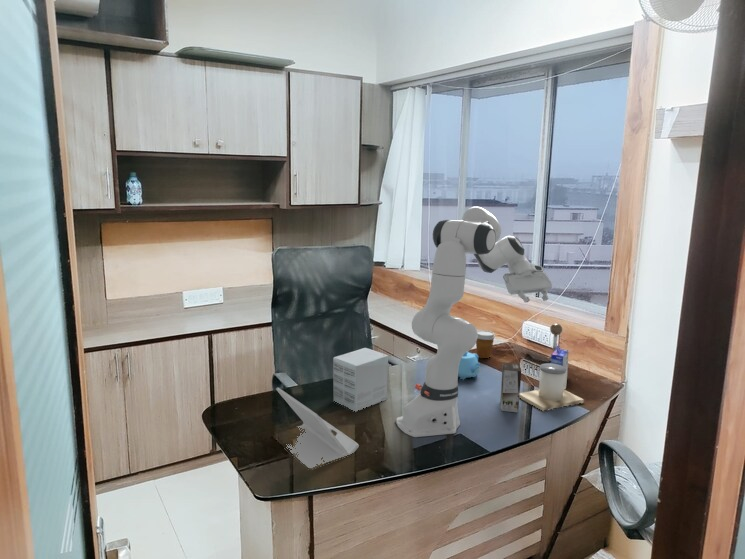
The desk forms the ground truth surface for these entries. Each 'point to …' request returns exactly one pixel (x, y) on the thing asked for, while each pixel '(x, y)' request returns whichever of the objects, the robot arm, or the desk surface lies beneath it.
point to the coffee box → (510, 387)
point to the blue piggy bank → (468, 365)
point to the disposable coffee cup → (484, 343)
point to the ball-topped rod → (555, 333)
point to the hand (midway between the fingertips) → (536, 300)
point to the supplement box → (360, 378)
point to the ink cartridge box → (560, 357)
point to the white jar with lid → (552, 381)
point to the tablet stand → (317, 437)
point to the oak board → (544, 404)
